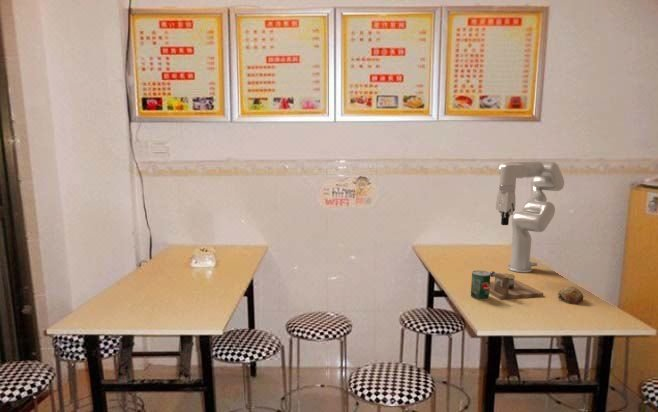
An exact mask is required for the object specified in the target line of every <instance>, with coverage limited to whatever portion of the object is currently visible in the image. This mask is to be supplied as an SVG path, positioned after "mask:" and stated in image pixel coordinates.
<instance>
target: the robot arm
mask: <svg viewBox="0 0 658 412" xmlns="http://www.w3.org/2000/svg"><path fill="white" fill-rule="evenodd" d="M497 171H498V175H499V189H498V192H497V196H496V203H495V209H496V210H497V211H498V212H499V213H500V217H501V220H500V224H501V226H509V223H510V222H509V221H510V217H511V216H512V217H511V227H512V239H511V240H512V241H511V251H510V252H511V253H510V254H511V255H510V264H508V265H507V266H506V269H507V270H509V271H512V272H516V273H531V272H533V267H537V266H538V263H537V262H532V261H531V251H532V250H531V249H532V235H531V234H530V232H534V233H542V232H544V231H546V229H547V228H548V226H549V224H550V223H551V221H552V219H553V218H554V216H555V213H556V207H555V205H554V204H553V203H552V202H550V201H547V199H548V198H547V197H546V193H544V191H551V192H560V191H561V190H563V189H564V187H565V178H564V177H563V174H562V171H561V169H560V166H559V165H558V164H557V163H556V162H555V161H542V160H537V161H536V160H535V161H534V160H533V161H517V162H514V161H513V162H502V163H501V164H499V166H498V169H497ZM524 178H525V179H528V178H529V179H530V178H531V181H530V192H531V193H530V197H529V198H528V199H527V201H526V202H525V203H524V205H523V207H522V211H517V212H515V210H516V184H517V179H524ZM514 212H515V213H514Z"/></svg>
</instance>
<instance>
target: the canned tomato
mask: <svg viewBox="0 0 658 412" xmlns="http://www.w3.org/2000/svg"><path fill="white" fill-rule="evenodd" d="M490 275H491V274H490V272H489V271H486V270H485V271H484V270H472V272H471V282H470V283H471V285H470V297H471V298H472V299H476V300H479V301H480V300H481V301H482V300H484V301H485V299H486V300H489V299H490V293H489V289H490V282H491V276H490Z"/></svg>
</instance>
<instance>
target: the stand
mask: <svg viewBox="0 0 658 412" xmlns="http://www.w3.org/2000/svg"><path fill="white" fill-rule="evenodd" d="M495 273H496V272H495ZM503 274H504V273H498V272H497V273H496V274H495V277H494V281H490V289H489V295H492V296H493V297H495V298H497V299H499V300H511V299H524V298H538V297H544V292H543V291H541V290H538V289H536V288H534V287H532V286H529V285H528V284H525V283H523V282H521V281H519V280H517V279H514V288H511V289H510V288H509V277H507V276H505V275H503Z"/></svg>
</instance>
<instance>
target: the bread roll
mask: <svg viewBox="0 0 658 412" xmlns="http://www.w3.org/2000/svg"><path fill="white" fill-rule="evenodd" d="M557 299H558V300H559V301H560V302H564V303H568V304H572V305H579V304H582V303H583V301H584V294H583V292H582V291H581V290H579V289H578V288H577V287H574V286H564V287H561V288H560V289H559V291H558V293H557Z"/></svg>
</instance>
